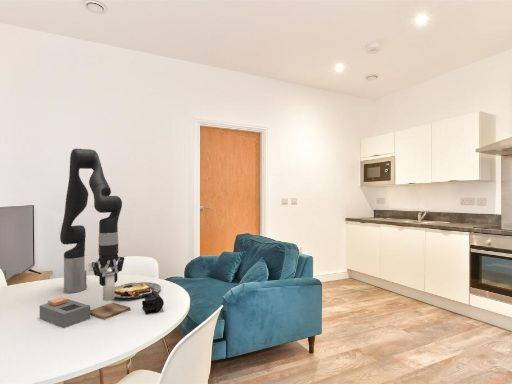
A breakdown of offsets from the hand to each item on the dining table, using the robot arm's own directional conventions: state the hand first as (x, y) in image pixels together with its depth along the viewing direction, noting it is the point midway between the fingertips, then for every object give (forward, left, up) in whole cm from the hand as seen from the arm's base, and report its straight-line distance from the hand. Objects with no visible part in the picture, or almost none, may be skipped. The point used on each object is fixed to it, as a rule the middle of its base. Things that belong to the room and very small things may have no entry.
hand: (108, 283), depth 130 cm
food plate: (-22, -12, -12) cm, 28 cm away
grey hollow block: (+13, -9, -12) cm, 20 cm away
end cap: (-11, +14, -12) cm, 22 cm away
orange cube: (+13, -14, -10) cm, 22 cm away
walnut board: (0, 0, -12) cm, 12 cm away
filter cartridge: (0, 0, -6) cm, 6 cm away
